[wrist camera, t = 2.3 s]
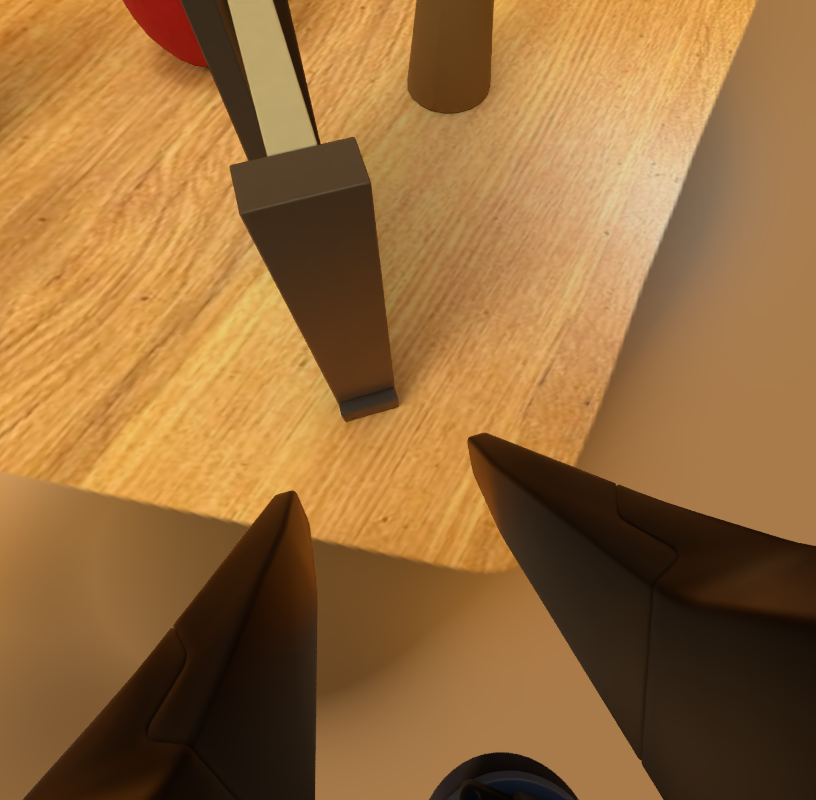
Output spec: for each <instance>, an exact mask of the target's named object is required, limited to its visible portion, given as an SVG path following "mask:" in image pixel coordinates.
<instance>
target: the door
mask: <svg viewBox="0 0 816 800" xmlns="http://www.w3.org/2000/svg"><path fill="white" fill-rule="evenodd" d="M228 4H229V8H230V12H231V16H232V20H233V24H234V28H235V32H236V36H237V39H238V43H239V47H240V51H241V55H242V59H243V63H244V67H245V71H246V75H247V79H248V83H249V86H250V90H251V94H252V98H253V102H254V106H255V110H256V114H257V118H258V122H259V126H260V130H261V134H262V137H263V141H264V145H265V149H266V153H267V157H264V158H260V159H255V160H251V161H247V162H242V163H238V164H234V165H231V166H230V172H231V177H232V181H233V186H234V191H235V195H236V200H237V205H238V209H239V214H240V216H241V218H242V220H243V222H244V224H245V226H246V228H247V230H248V232H249V234H250V235H251V237H252V239H253V241H254V243H255V245H256V247H257V249H258V251H259V253H260V255H261V257H262V258H263V260H264V262H265V264H266V266H267V268H268V270H269V272H270V274H271V276H272V278H273V279H274V281H275V283H276V285H277V287H278V289H279V291H280V293H281V295H282V297H283V299H284V301H285V302H286V304H287V306H288V308H289V310H290V312H291V314H292V316H293V318H294V320H295V322H296V323H297V325H298V327H299V329H300V331H301V333H302V335H303V337H304V339H305V341H306V343H307V345H308V346H309V348H310V350H311V352H312V354H313V356H314V358H315V360H316V362H317V364H318V366H319V368H320V369H321V371H322V373H323V375H324V377H325V379H326V381H327V383H328V385H329V387H330V389H331V390H332V392H333V394H334V396H335V398H336V400H337V402H338V403H340V402H343V401H347V400H350V399H354V398H357V397H361V396H364V395H368V394H371V393H375V392H378V391H382V390H385V389H389V388H392V387H394V378H393V369H392V361H391V352H390V343H389V335H388V326H387V317H386V309H385V300H384V291H383V283H382V274H381V265H380V257H379V248H378V239H377V230H376V222H375V213H374V204H373V196H372V187H371V181H370V178H369V176H368V173H367V170H366V167H365V164H364V161H363V158H362V156H361V153H360V150H359V147H358V144H357V141H356V139H355V138H354V137H350V138H346V139H342V140H337V141H333V142H329V143H324V144H320V145H318V144H317V141H316V138H315V135H314V131H313V128H312V125H311V122H310V118H309V115H308V112H307V109H306V105H305V102H304V99H303V96H302V93H301V89H300V86H299V83H298V80H297V76H296V73H295V70H294V67H293V64H292V60H291V57H290V54H289V51H288V47H287V44H286V41H285V38H284V34H283V31H282V28H281V25H280V22H279V18H278V15H277V12H276V9H275V5H274V2H273V0H228Z"/></svg>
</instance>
